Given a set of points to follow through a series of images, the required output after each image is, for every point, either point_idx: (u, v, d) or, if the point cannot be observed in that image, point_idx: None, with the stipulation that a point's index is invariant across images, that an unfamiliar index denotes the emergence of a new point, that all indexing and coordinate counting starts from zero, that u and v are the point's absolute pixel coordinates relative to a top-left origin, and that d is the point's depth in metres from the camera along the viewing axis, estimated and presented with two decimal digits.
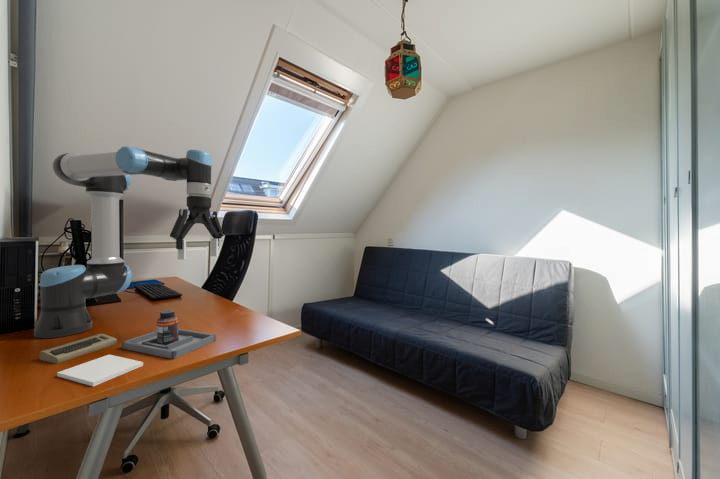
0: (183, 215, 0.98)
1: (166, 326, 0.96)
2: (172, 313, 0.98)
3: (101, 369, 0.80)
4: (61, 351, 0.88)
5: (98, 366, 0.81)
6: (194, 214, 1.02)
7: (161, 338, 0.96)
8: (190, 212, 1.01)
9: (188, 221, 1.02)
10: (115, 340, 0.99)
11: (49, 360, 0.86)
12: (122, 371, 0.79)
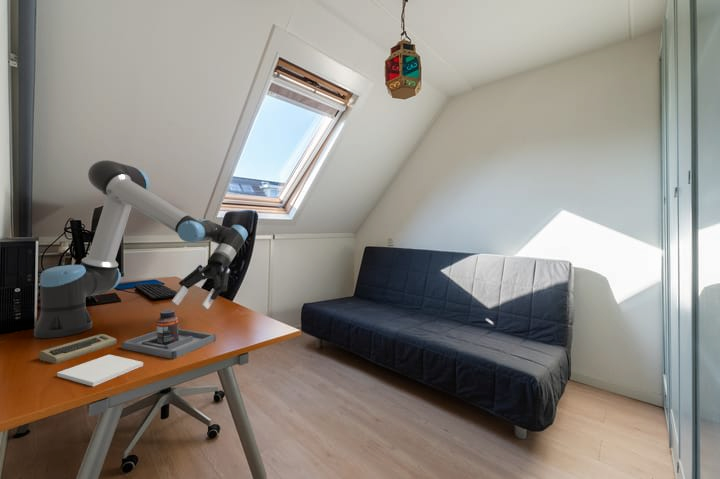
0: (228, 274, 1.13)
1: (166, 326, 0.96)
2: (172, 313, 0.98)
3: (101, 369, 0.80)
4: (60, 351, 0.88)
5: (98, 366, 0.81)
6: None
7: (161, 338, 0.96)
8: None
9: (217, 276, 1.12)
10: (115, 340, 0.99)
11: (48, 360, 0.86)
12: (122, 371, 0.79)
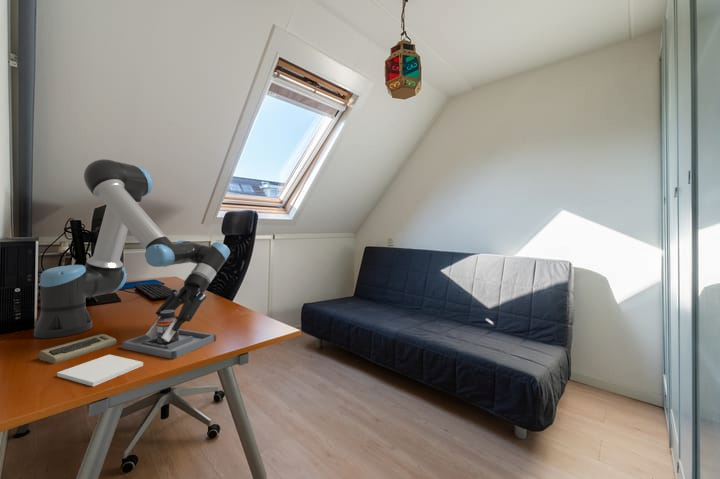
0: (201, 301, 1.04)
1: (166, 326, 0.96)
2: (172, 313, 0.98)
3: (101, 369, 0.80)
4: (60, 351, 0.88)
5: (98, 366, 0.81)
6: None
7: (161, 338, 0.96)
8: None
9: (189, 301, 1.03)
10: (115, 341, 0.99)
11: (47, 360, 0.86)
12: (122, 371, 0.79)
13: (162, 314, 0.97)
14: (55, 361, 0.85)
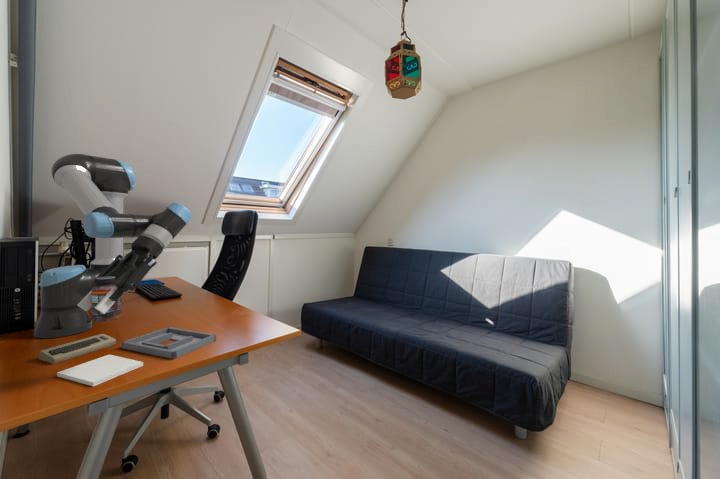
0: (150, 267, 0.86)
1: (103, 295, 0.79)
2: (111, 280, 0.81)
3: (101, 369, 0.80)
4: (59, 351, 0.87)
5: (98, 366, 0.81)
6: None
7: (96, 309, 0.78)
8: None
9: (135, 268, 0.85)
10: (114, 341, 0.99)
11: (47, 360, 0.86)
12: (122, 371, 0.79)
13: (98, 280, 0.79)
14: (54, 361, 0.85)
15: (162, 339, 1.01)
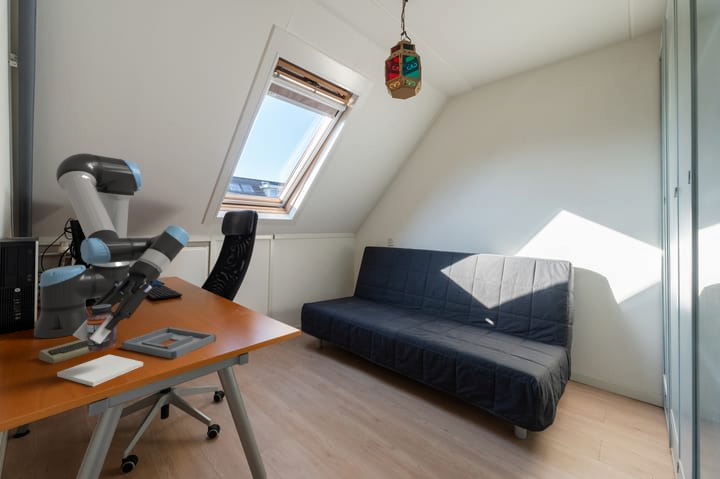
0: (146, 294, 0.85)
1: (98, 324, 0.78)
2: (107, 308, 0.80)
3: (101, 369, 0.80)
4: (58, 351, 0.88)
5: (98, 366, 0.81)
6: None
7: None
8: None
9: (131, 294, 0.85)
10: None
11: (46, 360, 0.86)
12: (122, 371, 0.79)
13: (93, 309, 0.78)
14: (53, 361, 0.85)
15: (162, 339, 1.01)
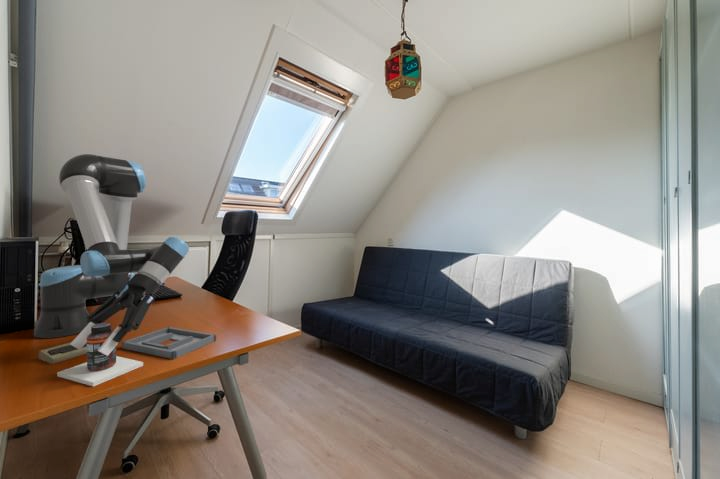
0: (149, 305, 0.86)
1: (98, 344, 0.78)
2: (106, 327, 0.80)
3: None
4: (58, 351, 0.87)
5: None
6: None
7: (91, 358, 0.78)
8: None
9: (134, 306, 0.85)
10: None
11: (46, 360, 0.86)
12: (122, 371, 0.79)
13: (93, 329, 0.79)
14: (53, 361, 0.85)
15: (162, 339, 1.01)
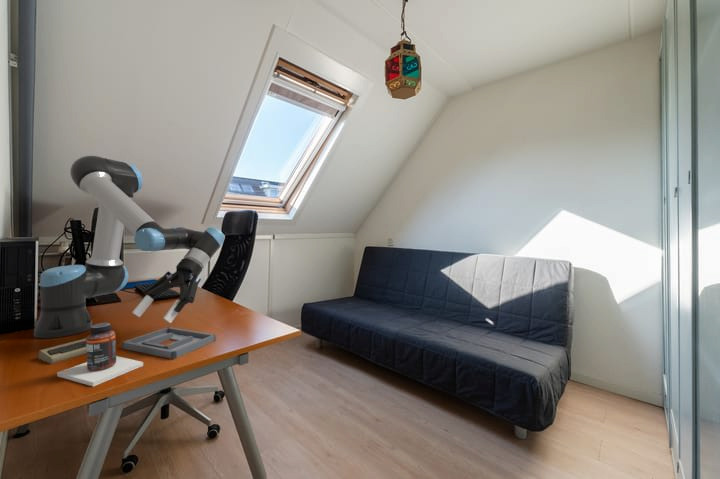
0: (197, 283, 1.01)
1: (97, 344, 0.78)
2: (106, 327, 0.80)
3: None
4: (57, 351, 0.88)
5: None
6: None
7: (91, 358, 0.78)
8: None
9: (185, 285, 1.00)
10: None
11: (45, 360, 0.86)
12: (122, 371, 0.79)
13: (93, 329, 0.79)
14: (52, 361, 0.85)
15: (162, 339, 1.01)
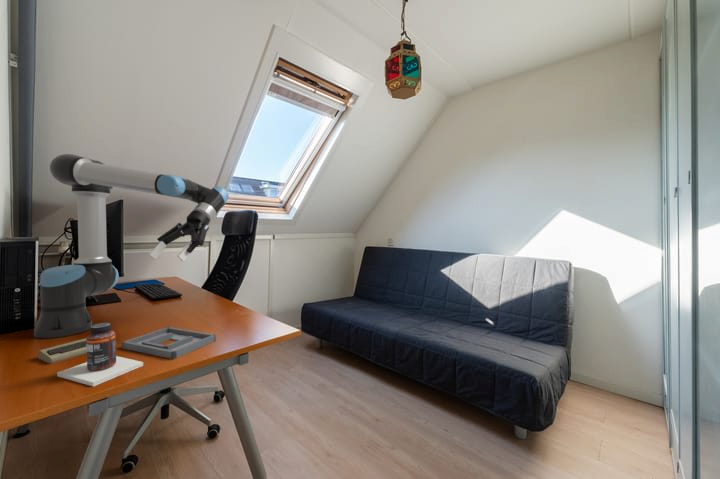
0: (206, 231, 1.14)
1: (98, 344, 0.78)
2: (106, 327, 0.80)
3: None
4: (57, 351, 0.88)
5: None
6: None
7: (91, 359, 0.78)
8: None
9: (195, 232, 1.13)
10: None
11: (45, 360, 0.86)
12: (122, 371, 0.79)
13: (93, 329, 0.79)
14: (51, 361, 0.85)
15: (162, 339, 1.01)
